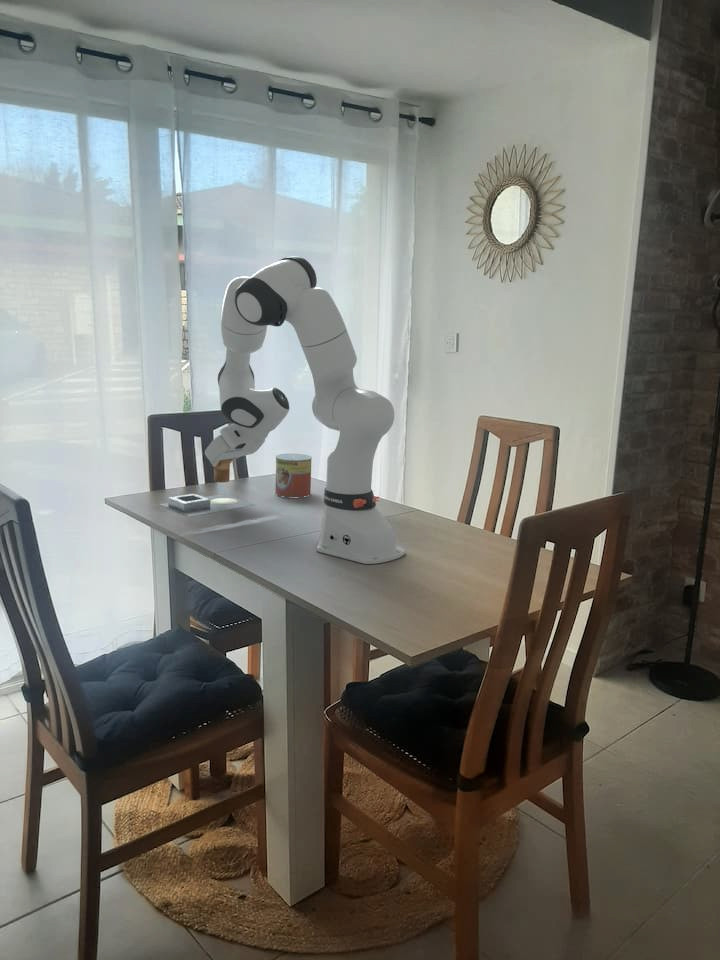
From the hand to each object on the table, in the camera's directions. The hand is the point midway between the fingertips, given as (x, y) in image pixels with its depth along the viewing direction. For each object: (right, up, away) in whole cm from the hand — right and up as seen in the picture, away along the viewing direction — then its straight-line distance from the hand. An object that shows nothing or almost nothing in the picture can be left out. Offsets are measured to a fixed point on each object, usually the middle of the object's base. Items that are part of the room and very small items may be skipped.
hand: (220, 463), depth 209 cm
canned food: (+19, -9, +21) cm, 30 cm away
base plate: (-3, -13, -1) cm, 14 cm away
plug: (0, -5, +1) cm, 5 cm away
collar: (-8, -12, -4) cm, 15 cm away
